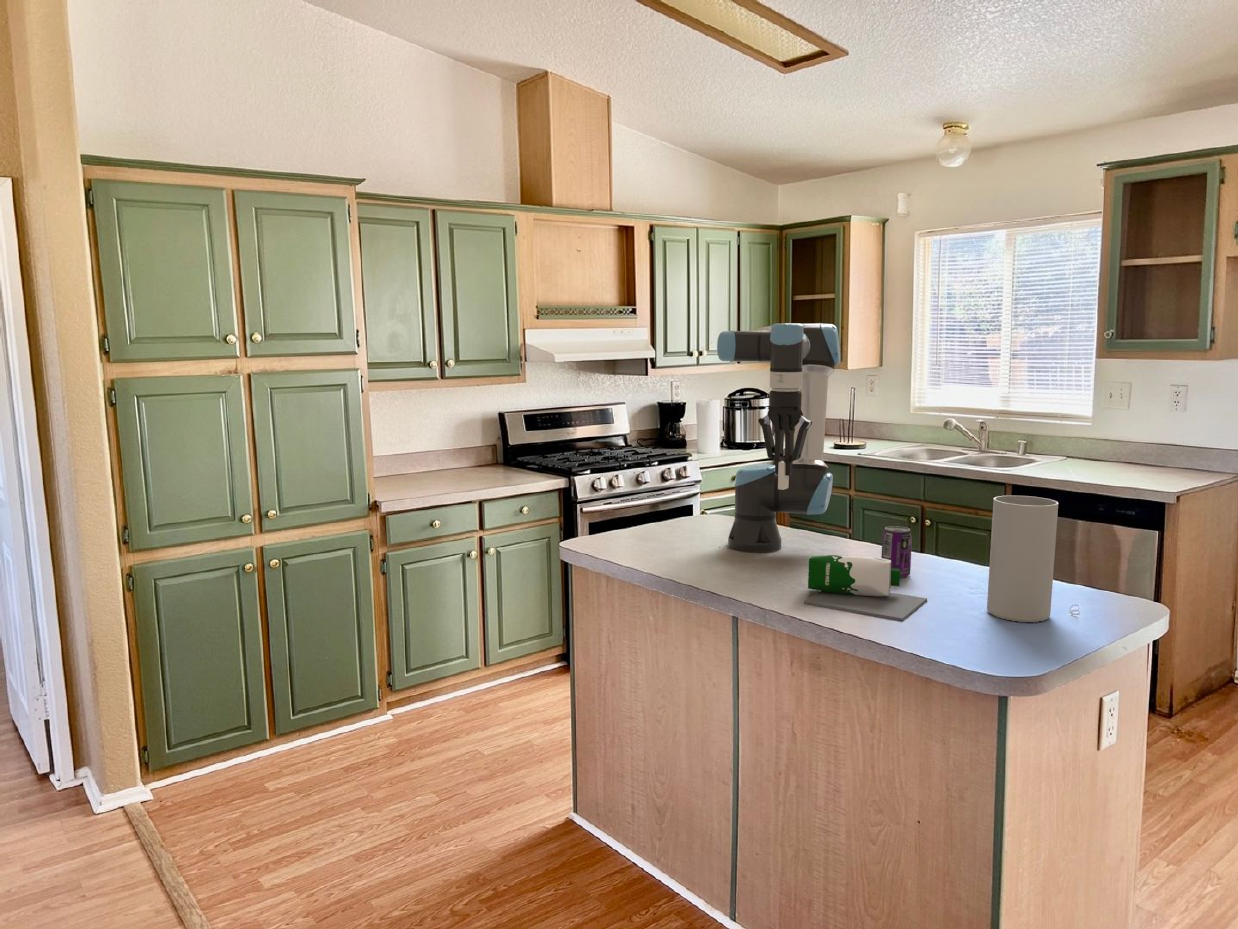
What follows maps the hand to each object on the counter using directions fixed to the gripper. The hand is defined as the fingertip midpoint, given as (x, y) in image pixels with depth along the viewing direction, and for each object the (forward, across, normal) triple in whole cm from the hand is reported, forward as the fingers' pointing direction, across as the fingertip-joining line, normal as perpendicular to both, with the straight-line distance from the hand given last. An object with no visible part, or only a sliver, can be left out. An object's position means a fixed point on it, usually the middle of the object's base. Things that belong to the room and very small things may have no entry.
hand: (783, 488), depth 213 cm
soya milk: (+19, +8, -3) cm, 21 cm away
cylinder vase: (+24, +52, +6) cm, 58 cm away
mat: (+23, +22, -4) cm, 32 cm away
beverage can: (+24, +20, +23) cm, 39 cm away
